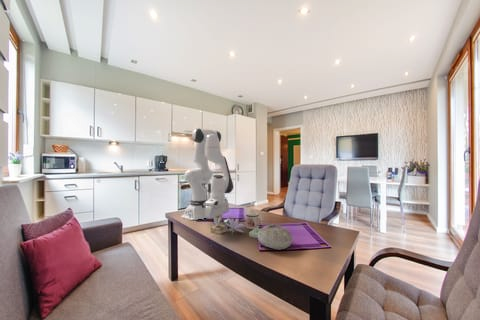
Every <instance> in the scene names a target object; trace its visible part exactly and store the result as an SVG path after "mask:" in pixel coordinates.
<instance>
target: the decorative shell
mask: <svg viewBox="0 0 480 320" xmlns="http://www.w3.org/2000/svg"><path fill="white" fill-rule="evenodd" d="M259 229H260V231H259V232H258V238H257V239H258V241H259V243H260V245H262V246H264V247H266V248H271V249H272V250H273V249H274V250H276V251H278V250H284V249H285V250H286V248H287V249H288V247H290V246H291V244H292V242H293V236H292V233H291V232H290V231H289V230H288V229H287V228H285V227H284V226H282V225H277V224H273V223H272V224H268V225H267V224H266V225H265V226H263V227H261V228H259Z"/></svg>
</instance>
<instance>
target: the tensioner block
mask: <svg viewBox="0 0 480 320" xmlns="http://www.w3.org/2000/svg"><path fill="white" fill-rule="evenodd" d="M225 232H227V225H224V224H220V228H217V227H216V224H215V225H214V226H211V227H210V233H211V234H212V233H213V234H217V235H221V234H223V233H225Z"/></svg>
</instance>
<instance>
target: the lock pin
mask: <svg viewBox="0 0 480 320" xmlns="http://www.w3.org/2000/svg"><path fill="white" fill-rule="evenodd" d="M220 216H221V215H219V216H217V218H216V219H217V220H218V223H215V225H216V227H217V228H220V225H221V222H220Z"/></svg>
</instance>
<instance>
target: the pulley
mask: <svg viewBox="0 0 480 320" xmlns="http://www.w3.org/2000/svg"><path fill="white" fill-rule="evenodd" d="M229 219H230V220H231V221H232V219H233V220H234V218H229ZM234 221H235V220H234ZM226 223H228V224H229V225H230V223H229V221H228V218H225V219H223V225H226V228H228V229H230V228H231V227H229V226H228V225H227V224H226ZM230 226H231V225H230Z"/></svg>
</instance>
